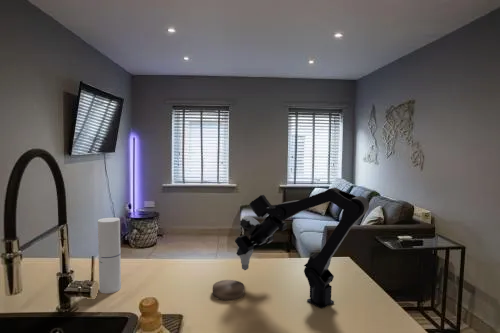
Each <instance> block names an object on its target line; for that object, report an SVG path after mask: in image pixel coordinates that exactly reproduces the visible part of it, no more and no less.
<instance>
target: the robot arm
mask: <svg viewBox="0 0 500 333" xmlns="http://www.w3.org/2000/svg"><path fill="white" fill-rule="evenodd" d="M328 202H330V203H332V204H334V205H336V206H337V207H338V208H339V209H341V210H342V212H341V217H340V220H339V223H337V225H336V227H335V229H334V230H333V232H332V233H331V234H330V236H329V238H328V239H327V241H326V242H325V244H324V245H323V247H322V248H321V250H320V251H319V252H318V251H316V252H314V253H313V254H311V255H310V256H309V258H308V260H307V263H305V264H304V265H303V267H304V270H303V273H304V275H305V278H306V279H307V281H308V282H307V283H308V285H309V298H307V300H306V302H308V303H310V304H312V305H315V306H316V307H318V308H320V309H323V308H326V307H328V306H331V305H332V304H334V303H335V301H334V300H332V285H331V284H330V283H332V282H333V280H334V277H335V276H334V274H333V273H332V271H330V270H329V267H330V265H331V261H332V258H333V256H334V255H335V254H336V252H337V251H338V249H339V247H340V245H342V242H343V241H344V239H345V238H346V237H347V236H348V234H349V231H351V229H352V228H353V226H354V225H355V224H356V223H357V222H358V221H359V220H360V219H362V217H363V216H364V215H365V214H366V213H367V212H368V211H369V210H370V203H369V200H368V199H367V198H366V197H365V196H361V195H354V194H353V193H350V192H346V191H343V190H342V189H340V188H337V187H330V188H328V189H326V190H325V191H322V192H319V193H316V194H314V195H311V196H308V197H305V198H303V199H298V200H290V201H284V202H281V203H279V204H274V205H272V204H271V202H270V201H269V200H268V199H267V197H266V196H265V194H260V195H259V196H258V197H256V198H255V199H254V200H252V201H251V202H250V203H249V204H248V206H249V208H250V209H251V210H252V212H253V213H254V214H255V216H256V217H257V218H258V219H260V218H261V219H263V220H262V221H261V222H259V220H257V219H255V218H254V217H253V216H252V215H247V216H245V217H244V216H243V218H242V219H241V220H239V221H240V224H239V225H240V226H241V227H242V228H243V229H244V230H247V231H248V232H247V234H248V235H249V237H248V235H246V234H242V235H240V236H237V237H236V238H235V240H234V242H235V244H236V245H237V247H239V249H238V251H237V250H236V255H237V256H238V257H240V256H239V255H243V254H247V253H249V252H252V250H253V251H254V250H256V249H258V248H259V249H260V248H262V247H264V246H267V244H270V243H271V242H273V241H274V239H275V237H274V234H275V232H276V231H277V230H280V231H281V232H283V231H285V230H287V229H288V227H287V222H286V220H288V219H291V218H292V217H294V216H296V215H298V214H300V213H302V212H303V211H305V210H309V209H312V208H314V207H316V206H320V205H323V204H326V203H328Z"/></svg>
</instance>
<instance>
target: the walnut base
mask: <svg viewBox="0 0 500 333" xmlns="http://www.w3.org/2000/svg"><path fill="white" fill-rule="evenodd" d="M244 295H245V284H244V283H243V282H241V281H239V280H235V279H223V280H220V281H215V283H213V285H212V296H213V297H214V298H215V299H217V300H220V301H235V300H236V301H237V300H238V299H241V298H243V297H244Z"/></svg>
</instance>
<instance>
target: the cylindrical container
mask: <svg viewBox="0 0 500 333" xmlns="http://www.w3.org/2000/svg"><path fill="white" fill-rule="evenodd" d="M97 232H98V233H97V236H98V237H97V240H98V241H97V242H98V243H97V245H98V274H99V275H98V283H99V284H98V286H99V288H98V289H99V292H100V293H102V294H112V293H116V292H118V291H120V290H121V289H122V281H121V280H122V271H121V270H122V267H121V262H122V261H121V260H122V259H121V258H122V257H121V219H120V217H116V216H115V217H104V218H103V217H102V218H99V219H98V220H97Z"/></svg>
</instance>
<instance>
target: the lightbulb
mask: <svg viewBox="0 0 500 333" xmlns="http://www.w3.org/2000/svg"><path fill="white" fill-rule="evenodd" d="M238 249H239V247H238V246H237V248H236V252H237V251H238ZM253 253H254V249H253V250H252V252H249V253H247V254H243V255H239V256H238V257H239V258H240V264H241V270H243V271H247V270H248V269H249V264H250V259H251V257H252V255H253Z"/></svg>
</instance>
